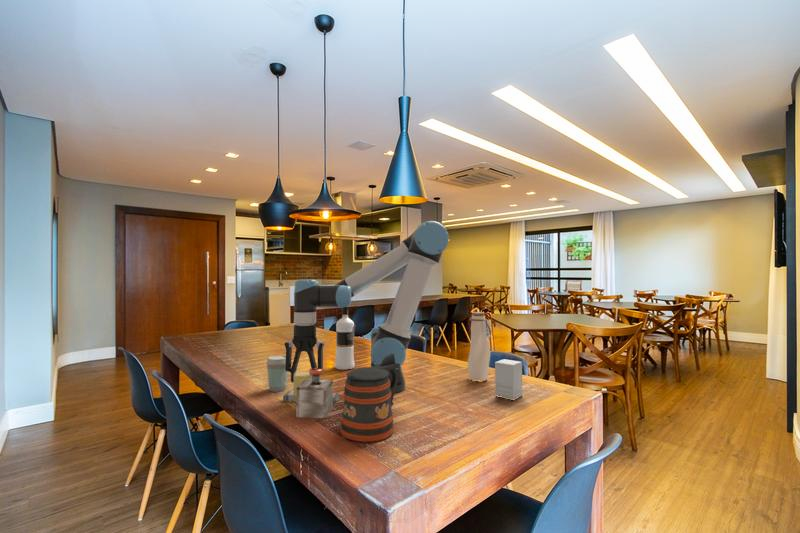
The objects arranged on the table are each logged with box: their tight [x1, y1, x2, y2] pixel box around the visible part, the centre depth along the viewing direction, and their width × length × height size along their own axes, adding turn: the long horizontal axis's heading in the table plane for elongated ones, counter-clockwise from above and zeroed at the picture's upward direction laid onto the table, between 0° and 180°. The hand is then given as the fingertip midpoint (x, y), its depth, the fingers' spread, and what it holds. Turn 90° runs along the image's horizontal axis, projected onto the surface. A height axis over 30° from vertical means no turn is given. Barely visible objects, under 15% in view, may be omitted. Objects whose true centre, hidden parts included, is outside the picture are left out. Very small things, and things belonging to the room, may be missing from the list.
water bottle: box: [467, 311, 492, 380], centre depth 161 cm, size 10×9×28 cm
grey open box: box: [295, 379, 334, 419], centre depth 120 cm, size 9×9×9 cm
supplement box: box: [494, 358, 523, 399], centre depth 138 cm, size 7×7×13 cm
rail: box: [282, 391, 340, 404], centre depth 132 cm, size 18×5×2 cm, turn 87°
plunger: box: [308, 367, 323, 385], centre depth 121 cm, size 4×4×5 cm
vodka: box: [334, 307, 356, 371], centre depth 179 cm, size 9×9×30 cm
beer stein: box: [339, 354, 400, 443], centre depth 108 cm, size 19×15×20 cm
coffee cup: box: [265, 354, 289, 393], centre depth 144 cm, size 8×9×12 cm
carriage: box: [293, 371, 310, 403], centre depth 132 cm, size 5×6×8 cm
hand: (303, 391), depth 132 cm, fingers closed on carriage, 5 cm apart
